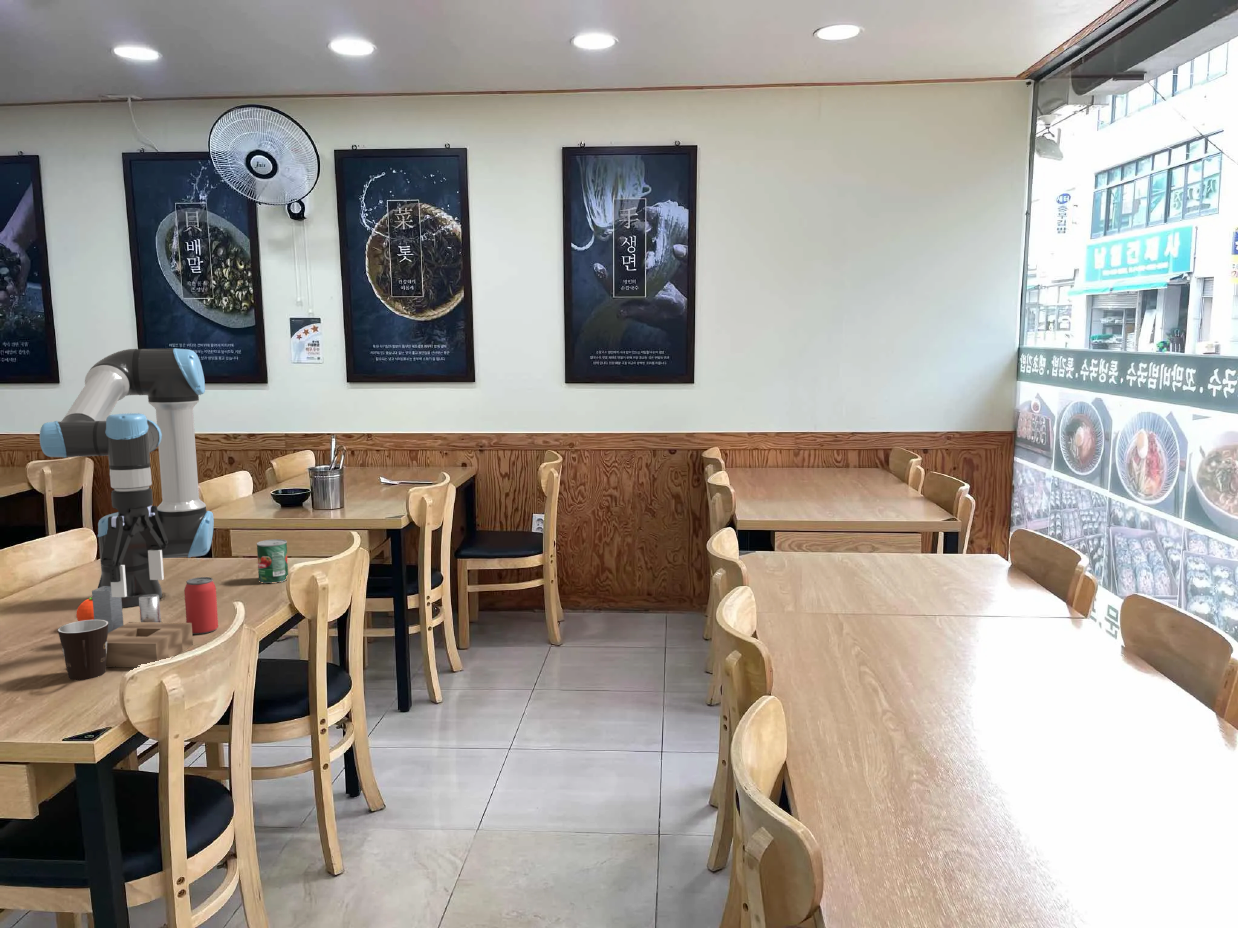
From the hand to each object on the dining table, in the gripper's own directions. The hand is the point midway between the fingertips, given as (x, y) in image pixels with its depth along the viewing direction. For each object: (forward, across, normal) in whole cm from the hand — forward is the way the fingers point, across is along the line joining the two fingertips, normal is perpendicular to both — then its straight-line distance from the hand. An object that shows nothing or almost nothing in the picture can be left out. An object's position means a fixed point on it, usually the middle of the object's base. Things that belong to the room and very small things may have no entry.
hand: (138, 587), depth 188 cm
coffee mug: (+15, +13, -5) cm, 20 cm away
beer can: (+15, -17, +4) cm, 23 cm away
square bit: (+15, -9, -13) cm, 22 cm away
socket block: (+15, 0, 0) cm, 15 cm away
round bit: (+15, -10, -4) cm, 18 cm away
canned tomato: (+15, -62, +1) cm, 64 cm away
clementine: (+15, -19, -23) cm, 33 cm away
